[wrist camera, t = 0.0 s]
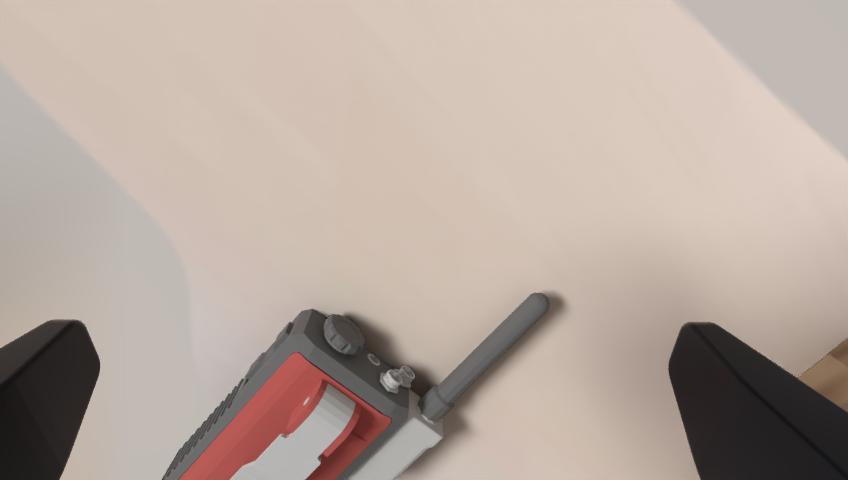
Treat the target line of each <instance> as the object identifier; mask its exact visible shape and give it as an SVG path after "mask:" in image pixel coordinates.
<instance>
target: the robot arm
mask: <svg viewBox="0 0 848 480" xmlns="http://www.w3.org/2000/svg"><path fill="white" fill-rule="evenodd" d="M99 372H100V360H99V357H98V354H97V352H96V350H95V347H94V345H93V342H92V341H91V338H90V336H89V333H88V331H87V329H86V327H85V325H84V324H83V323H82V322H81V321H79V320H50V321H47V322H45V323H44V324H42V325H40V326H38V327H37V328H35V329H33V330H31V331H30V332H28V333H26V334H24V335H23V336H21V337H19V338H17V339H16V340H14V341H12V342H10V343H9V344H7V345H5V346H4V347H2V348H0V480H59V479H60V477H61V475H62V473H63V471H64V468H65V466H66V463H67V461H68V458H69V456H70V453H71V451H72V448H73V445H74V442H75V439H76V437H77V434H78V431H79V428H80V426H81V423H82V420H83V417H84V415H85V412H86V409H87V407H88V404H89V401H90V398H91V395H92V393H93V390H94V387H95V385H96V381H97V379H98V376H99ZM669 376H670V380H671V383H672V387H673V390H674V394H675V397H676V401H677V404H678V407H679V411H680V414H681V418H682V421H683V425H684V428H685V432H686V435H687V439H688V442H689V446H690V449H691V453H692V456H693V459H694V462H695V465H696V468H697V471H698V474H699V476H700V479H701V480H848V412H847V411H846V410H844V409H843V408H841V407H840V406H838V405H837V404H835V403H834V402H832V401H831V400H829V399H828V398H826V397H825V396H823V395H822V394H820V393H819V392H817V391H816V390H814V389H813V388H811V387H810V386H808V385H807V384H805V383H804V382H802V381H801V380H799V379H798V378H796V377H795V376H793V375H792V374H790V373H789V372H787V371H786V370H784V369H783V368H781V367H780V366H778V365H777V364H775V363H774V362H772V361H771V360H769V359H768V358H766V357H765V356H763V355H762V354H760V353H759V352H757V351H756V350H754V349H753V348H751V347H750V346H748V345H747V344H745V343H744V342H742V341H741V340H739V339H738V338H736V337H735V336H733V335H732V334H730V333H729V332H727V331H726V330H724V329H723V328H721V327H720V326H718V325H717V324H715V323H711V322H688V323H685V324H684V325H683V326H682V328H681V330H680V332H679V335H678V338H677V340H676V343H675V346H674V349H673V351H672V354H671V357H670V360H669Z"/></svg>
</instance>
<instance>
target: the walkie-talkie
mask: <svg viewBox="0 0 848 480" xmlns="http://www.w3.org/2000/svg"><path fill="white" fill-rule="evenodd" d="M549 305H550V303H549V300H548V298H547V297H546V296H545V295H543V294H542V293H534V294H531V295H530V296H529V297H528V298H527V299H526V300H525V301H524V302H523V303H522V304H521V305H520V306H519V307H518V308H517V309H516V310H515V311H514V312H513V313H512V314H511V315H510V316H509V317H508V318H507V319H506V320H505V321H503V322H502V323H501V324H500V325H499V326H498V327H497V328H496V329H495V330H494V331H493V332H492V333H491V334H490V335H489V336H488V337H487V338H486V339H485V340H484V341H483V342H482V343H481V344H480V345H479V346H478V347H477V348H476V349H475V350H474V351H473V352H472V353H471V354H470V355H469V356H468V357H467V358H466V359H465V360H464V361H463V362H462V363H461V364H460V365H459V366H458V367H457V368H456V369H455V370H454V371H453V372H452V373H451V374H450V375H449V376H448V377H447V378H446V379H445V380H444V381H443V382H442V383H441V384H440V385H438V386H437V385H435V386H434V387H432V388H431V389H430V390H429V391H428V392H427V393H426V394H425V395H424V396H423V397H422V398H421V397H419V396H418V395H417V394H415V393H414V392H413V391H411V390H410V389H409V388H410V387H411V382H412V381H413V379H414V378H415V374H414V373H413V371H412V370H411V369H410V368H409V367H408V366H405V365H403V366H402V367H401V368H400V369H396V368H395V369H394V368H392V367H391V366H390V365H388V364H387V363H386V362H384V361H383V360H382V359H380V358H379V357H377V356H376V355H375V354H373V353H372V352H371V351H369V350H368V349H367V348H365V347H364V345H365V339H364V336H363V334H362V333H361V331H360V330H359V328H358V327H357V326H356V325H355V324H354V323H353V322H352V321H351V320H349V319H348V318H346V317H343V316H341V315H335V314H333V315H330V316H329V317H328V318H327V319H326V318H325V317H323V316H322V315H321V314H319V313H318V312H316V311H315V310H314V309H310V310H305V311H302V312H301V313H300V314H299V315H298V316H297V317H296V318H295V320H294V321H293V322H292V323H291V322H289V323H288V325H287V326H286V327H285V328H284V329H283V330H282V331H281V332H280V334H279V335H278V337H277V339H276V341H275V342H274V343H273V344H272V346H271V347H270V348H269V349H268V350H267V351H266V352H265V353H262V354H261V355H260V356H259V357H258V359H257V360H256V361H255V362H254V363H253V364H252V365H251V367H250V369H249V371H248V373H247V374H246V376H245V378H244V379H242V380H241V381H240V383H239V384H238V386H235V388H234V389H233V391H232V393H231V394H228V395H227V397H226V399H225V401H222V402H221V404H220V406H217V408H215V410H214V412H213V413H212V414H210V415H209V417H208V419H207V420H206V421H204V422H203V424H202V425H201V427H200V428H198V429H197V430H196V432H195V434H193V435H192V436H191V437H190V439H189V441H187V442H185V444H184V445H183V447H182V448H180V450H179V451H178V453H177V455H176V456H175V458H174V460H173V461H172V463H171V465H170V466H169V468H168V470H167V471H166V473H165V475H164V476H163V478H162V480H395V479H396V478H397V477H398V476H399V475H400V474H401V473H402V472H404V471H405V470H406V469H407V468H408V467H409V466H410V465H411V464H412V463H413V462H414V461H415V460H416V459H417V458H418V457H419V456H420V455H422V454H423V453H424V452H425V451H426V450H427V449H428V448H431V447H434V446H435V445H436V444H437V443H438V442H439V441H441V440H442V439H443V438H444V429H443V416H444V415H445V414H446V413H447V412H448V411H449V410H450V409H451V408H452V407H453V406H454V401H455V400H456V399H457V398H458V397H459V396H460V395H461V394H462V393H463V392H464V391H465V390H466V389H467V388H468V387H469V386H471V385H472V384H473V383H474V382H475V381H476V380H477V379H478V378H479V377H480V376H481V375H482V374H483V373H484V372H485V371H486V370H487V369H488V368H489V367H490V366H491V365H492V364H493V363H494V362H495V361H497V360H498V359H499V358H500V357H501V356H502V355H503V354H504V353H505V352H506V351H507V350H508V349H509V348H510V347H511V346H512V345H513V344H514V343H515V342H516V341H517V340H518V339H519V338H520V337H521V336H522V335H524V334H525V333H526V332H527V331H528V330H529V329H530V328H531V327H532V326H533V325H534V324H535V323H536V322H537V321H538V320H539V319H540V318H541V317H542V316H543V315H544V314H545V313H546V312H547V311H548V310H549Z"/></svg>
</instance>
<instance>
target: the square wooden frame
mask: <svg viewBox="0 0 848 480" xmlns="http://www.w3.org/2000/svg"><path fill="white" fill-rule="evenodd" d="M798 379H799V380H801V381H802V382H804V383H805V384H807V385H808V386H810V387H811V388H813V389H814V390H816V391H817V392H819V393H820V394H822V395H823V396H825V397H826V398H828V399H829V400H831V401H832V402H834V403H835V404H837V405H838V406H840V407H841V408H843V409H844V410H846V411H847V412H848V339H846V340H845V341H844V342H843V343H841V344H840V345H839V346H838V347H836V348H835V349H834V350H833V351H832V352H830V353H829V354H828V355H827V356H825V357H824V358H823V359H822V360H820V361H819V362H818V363H817V364H816V365H814V366H813V367H812V368H811V369H809V370H808V371H807V372H806V373H804V374H803V375H802V376H801V377H800V378H798Z"/></svg>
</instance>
